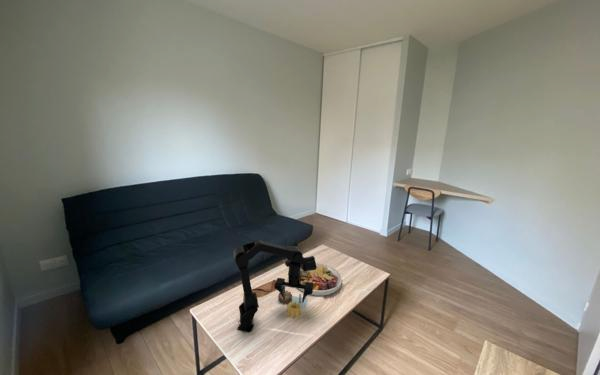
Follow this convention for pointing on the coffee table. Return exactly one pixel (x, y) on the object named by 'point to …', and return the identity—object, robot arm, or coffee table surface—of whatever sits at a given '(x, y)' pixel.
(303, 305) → the gear board
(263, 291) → the sunglasses case
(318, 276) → the bowl
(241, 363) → the coffee table surface
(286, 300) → the gear
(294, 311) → the gear
